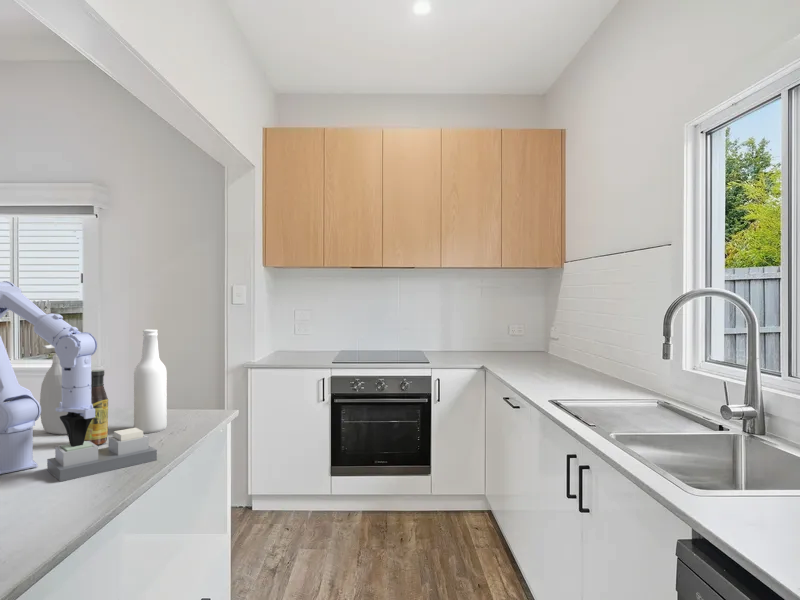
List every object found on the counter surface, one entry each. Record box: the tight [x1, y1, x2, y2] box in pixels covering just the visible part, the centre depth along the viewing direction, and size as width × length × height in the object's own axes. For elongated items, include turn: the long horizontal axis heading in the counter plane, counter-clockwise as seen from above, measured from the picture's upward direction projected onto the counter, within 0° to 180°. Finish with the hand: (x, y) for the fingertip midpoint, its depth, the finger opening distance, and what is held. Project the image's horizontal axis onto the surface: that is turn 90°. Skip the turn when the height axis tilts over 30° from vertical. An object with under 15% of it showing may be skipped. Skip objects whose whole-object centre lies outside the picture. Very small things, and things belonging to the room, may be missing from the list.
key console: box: [46, 433, 158, 483], centre depth 120 cm, size 11×20×6 cm, turn 137°
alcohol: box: [133, 328, 168, 434], centre depth 151 cm, size 9×9×30 cm
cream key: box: [113, 427, 144, 442], centre depth 124 cm, size 5×5×2 cm
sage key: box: [60, 441, 93, 452], centre depth 116 cm, size 5×5×2 cm
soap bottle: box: [39, 344, 68, 435], centre depth 148 cm, size 14×8×27 cm, turn 70°
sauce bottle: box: [84, 369, 109, 446], centre depth 137 cm, size 7×6×20 cm
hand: (76, 445), depth 116 cm, fingers closed, pressing on sage key
